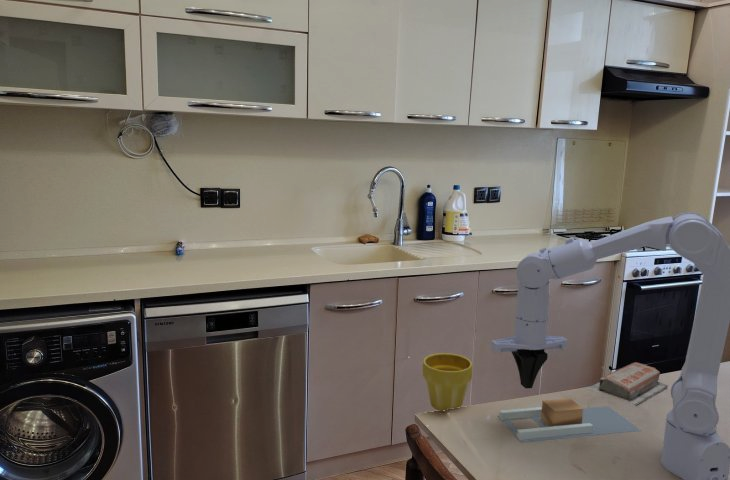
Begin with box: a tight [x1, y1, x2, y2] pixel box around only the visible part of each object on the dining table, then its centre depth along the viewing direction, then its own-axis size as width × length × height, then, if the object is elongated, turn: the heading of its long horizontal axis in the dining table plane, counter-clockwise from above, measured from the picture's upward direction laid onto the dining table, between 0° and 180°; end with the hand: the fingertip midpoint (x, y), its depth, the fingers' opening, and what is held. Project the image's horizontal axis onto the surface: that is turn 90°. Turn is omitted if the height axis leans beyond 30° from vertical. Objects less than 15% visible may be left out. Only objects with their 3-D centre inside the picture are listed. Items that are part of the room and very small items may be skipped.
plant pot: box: [422, 352, 474, 413], centre depth 113 cm, size 10×10×10 cm
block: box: [541, 397, 584, 427], centre depth 105 cm, size 4×6×4 cm
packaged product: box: [586, 361, 669, 407], centre depth 123 cm, size 18×5×10 cm
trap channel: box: [497, 405, 642, 443], centre depth 106 cm, size 10×25×2 cm, turn 102°
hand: (526, 386), depth 102 cm, fingers closed
